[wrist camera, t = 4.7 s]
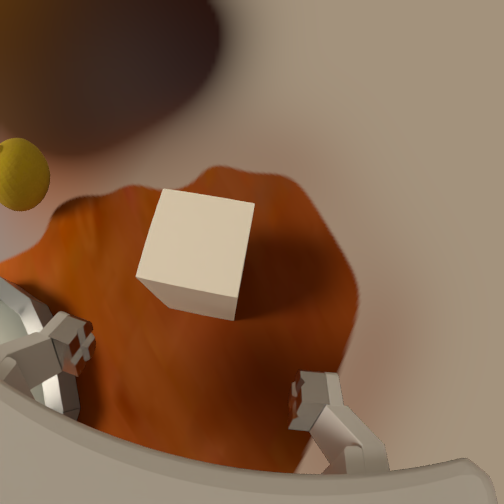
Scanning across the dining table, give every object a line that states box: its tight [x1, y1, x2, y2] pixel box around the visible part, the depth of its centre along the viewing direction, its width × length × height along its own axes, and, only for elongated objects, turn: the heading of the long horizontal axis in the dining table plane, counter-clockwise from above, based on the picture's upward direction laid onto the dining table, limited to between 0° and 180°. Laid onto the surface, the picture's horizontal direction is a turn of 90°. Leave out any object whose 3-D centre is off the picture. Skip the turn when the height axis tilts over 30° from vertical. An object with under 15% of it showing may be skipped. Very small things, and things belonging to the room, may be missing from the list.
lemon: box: [0, 138, 50, 211], centre depth 18 cm, size 6×6×8 cm
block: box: [136, 189, 255, 321], centre depth 17 cm, size 5×5×8 cm
